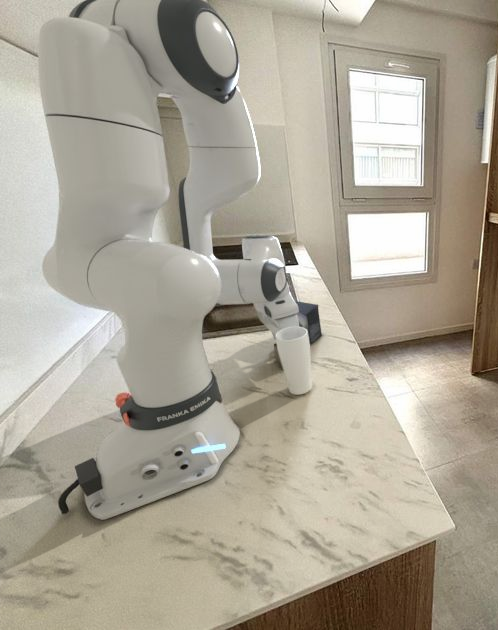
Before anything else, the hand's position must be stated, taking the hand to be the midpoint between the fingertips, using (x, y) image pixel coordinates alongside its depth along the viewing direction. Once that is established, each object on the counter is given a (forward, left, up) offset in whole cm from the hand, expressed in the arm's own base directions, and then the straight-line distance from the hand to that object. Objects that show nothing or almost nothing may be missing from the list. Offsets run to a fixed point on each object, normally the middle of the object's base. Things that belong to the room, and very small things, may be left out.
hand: (281, 345), depth 89 cm
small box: (+8, +7, -4) cm, 11 cm away
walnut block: (0, -3, -3) cm, 5 cm away
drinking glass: (-2, -17, -4) cm, 17 cm away
